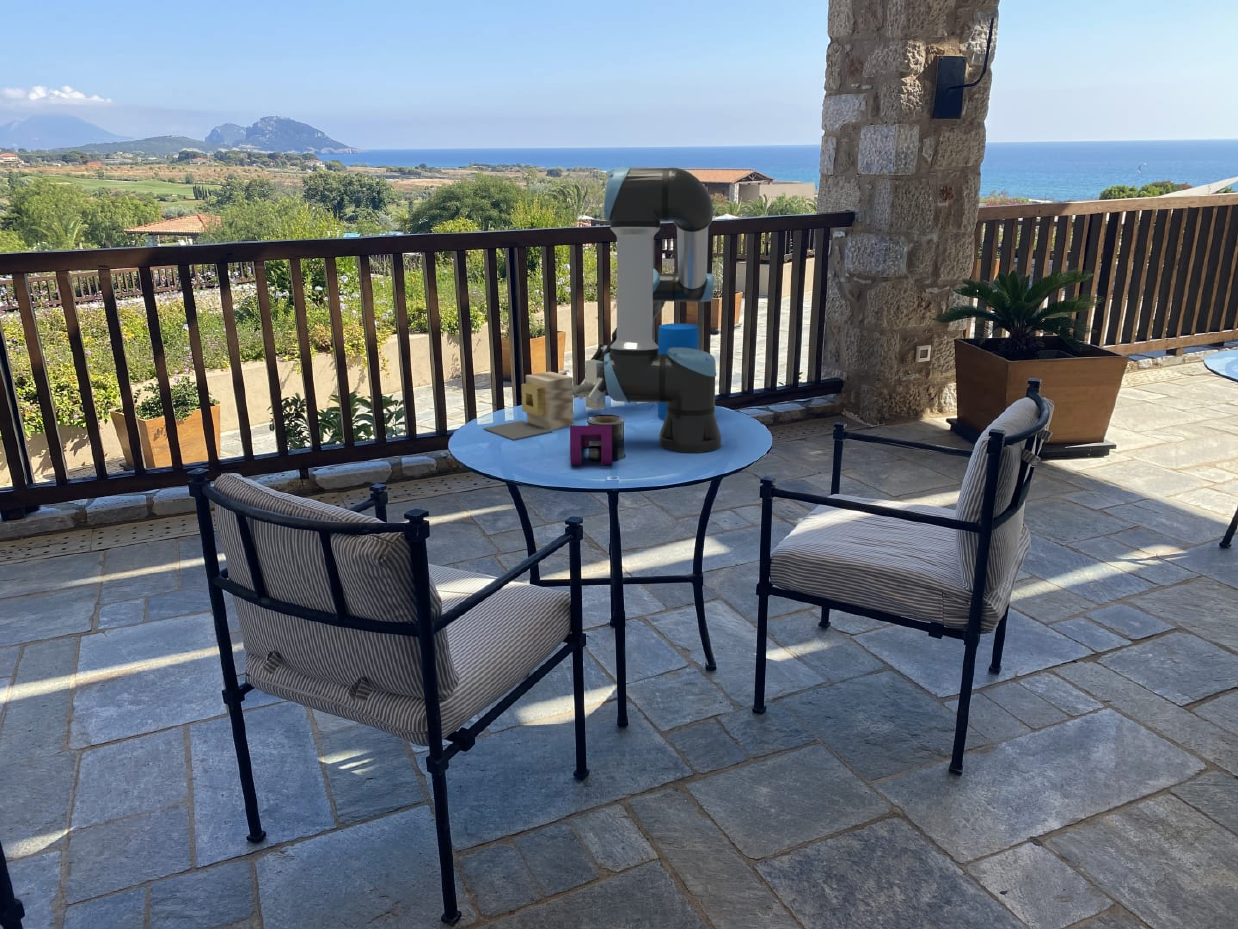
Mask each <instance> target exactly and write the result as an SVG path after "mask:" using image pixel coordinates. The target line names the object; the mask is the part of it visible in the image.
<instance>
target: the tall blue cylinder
mask: <svg viewBox="0 0 1238 929" xmlns="http://www.w3.org/2000/svg"><path fill="white" fill-rule="evenodd" d="M699 335H700V331H699V326H698V325H697V324H692V323H665V324H661V325H659V326H658V333H657V345H658V346H659V354H667V351H668V349H669V348H674V347H675V348H679V347H681V348H691V349H696V350H699V343H700V342H699V338H700V336H699ZM666 414H667V403H662V402H660V403H657V418H658V417H659V418H660V419H659V418H658V419H659V420H661V419H662V420H661V421H663V420H665V417H666Z"/></svg>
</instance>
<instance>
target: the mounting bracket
mask: <svg viewBox="0 0 1238 929" xmlns="http://www.w3.org/2000/svg"><path fill="white" fill-rule="evenodd" d="M612 428H613V425H610V424H609V425H608V424H607V425H603V424H602V425H601V424H600V425H599V424H598V425H597V424H595V425H572V426H569V453H570V455H569V456H570V458H569V460H570V461H569V462H570V466H571V465H573V466H582V448H589V447H588V446H589V441H601V447H600V455H601V456H600V457H601V458H600V461H601V466H612V465H613V429H612Z"/></svg>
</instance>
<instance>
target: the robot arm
mask: <svg viewBox="0 0 1238 929" xmlns="http://www.w3.org/2000/svg"><path fill="white" fill-rule="evenodd" d="M607 178H608V179H607V182H606V187H605V192H604V193H605V194H604V199H603V200H604V201H603V219H604V220H605V222H610V226H609V227H610V230H611V232H613V233H614V235H615V236H616V328H615V329H614V330H613V332H612V333H611V340H610V341H609V342H608V343H607V344H606V345H603V344H602V343H601V344H599V345H598V347H597V350H596V352H594V354H593V356H592V357H591V358H590V360H593V359H594V360H598V361H603V362H604V373H605V375H602V377H603V378H604V379H603V378H600V380H599V381H598V383H597V384H596V386H595V387H594V389H593V390H592V392H591V393H590V395H589V396H588V398H589V399H590V400H591V401H592V402H593V403H596V401H597V400H598V398H599V397H600V395H601V394H602V392H604V391H605V392H606V391H607V393H608V397H609V398H610V399H611V400H612V401H615V402H623V403H629V404H630V403H656V404H658V403H660V402H662V403H667V414H666V417H665V420H664V421H663V424H662V427H661V429H660V431H659V432H660V433H659V435H658V436H659V438H658V440H659V446H660V447H662V448H663V449H665V450H669V451H672V452H679V453H706V452H710V451H715V450H716V449H719V448H720V447H721V446H722V445H721V444H722V434H721V432H720V428H719V424H718V421H717V418H716V414H715V412H716V377H717V375H718V374H717V368H716V367H717V366H716V365H717V364H716V359H715V357H714V355H712V354H710V353H709V352H707V351H704V350H701V349H698V350H696V349H691V348H681V347H679V348H675V347H674V348H669V349H668V351H667V354H659V346H658V343H656V342H655V341H654V340H653V332H654V331H653V324H654V323H653V322H654V320H655V319H656V318H657V316H658V315H659V314H660V312H661V310H662V309H663V308H664V307H665V304H666V302H682V303H683V302H684V303H687V302H688V303H689V302H690V303H691V302H692V303H700V302H701V303H703V302H711V301H712V300H713V299H714V285H715V284H714V280H715V279H714V278H715V277H714V275H713V273H708V246H709V244H708V243H709V226H710V225H711V223H712V221H713V217H714V206H713V200H712V198H711V195H710V193H709V191H708V190H707V188H706V187H705V185H704V184H703V183H702V181H701V180H700V179H698V178H697V177H696V175H694V174H693V173H691V172H689V171H688V170H685V169H683V168H678V167H632V166H631V167H623V168H616V169H615V168H614V169H613V170H612V171H610V173H609V175H608V177H607ZM665 221H667V222H668V221H672V222H673V224H674V225H675V226H676V234H677V235H676V237H677V238H676V240H677V244H676V245H677V272H676V273H675V272H673V273H671V272H670V273H668V272H667V273H663V272H661V273H660V272H658V271H657V270H656V268H654V239H655V238H654V237H655V235H656V234H657V233H658V232H659V231H660V230H661V222H665ZM582 372H583V373H584V374H585V368H583V371H582ZM582 384H585V377H584V378H583V380H582V381H581V383H580V385H582ZM606 389H607V390H606ZM576 396H577V398H578V399H580V400H583V399H584V398H585V397H586V393H582V394H576Z"/></svg>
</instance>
